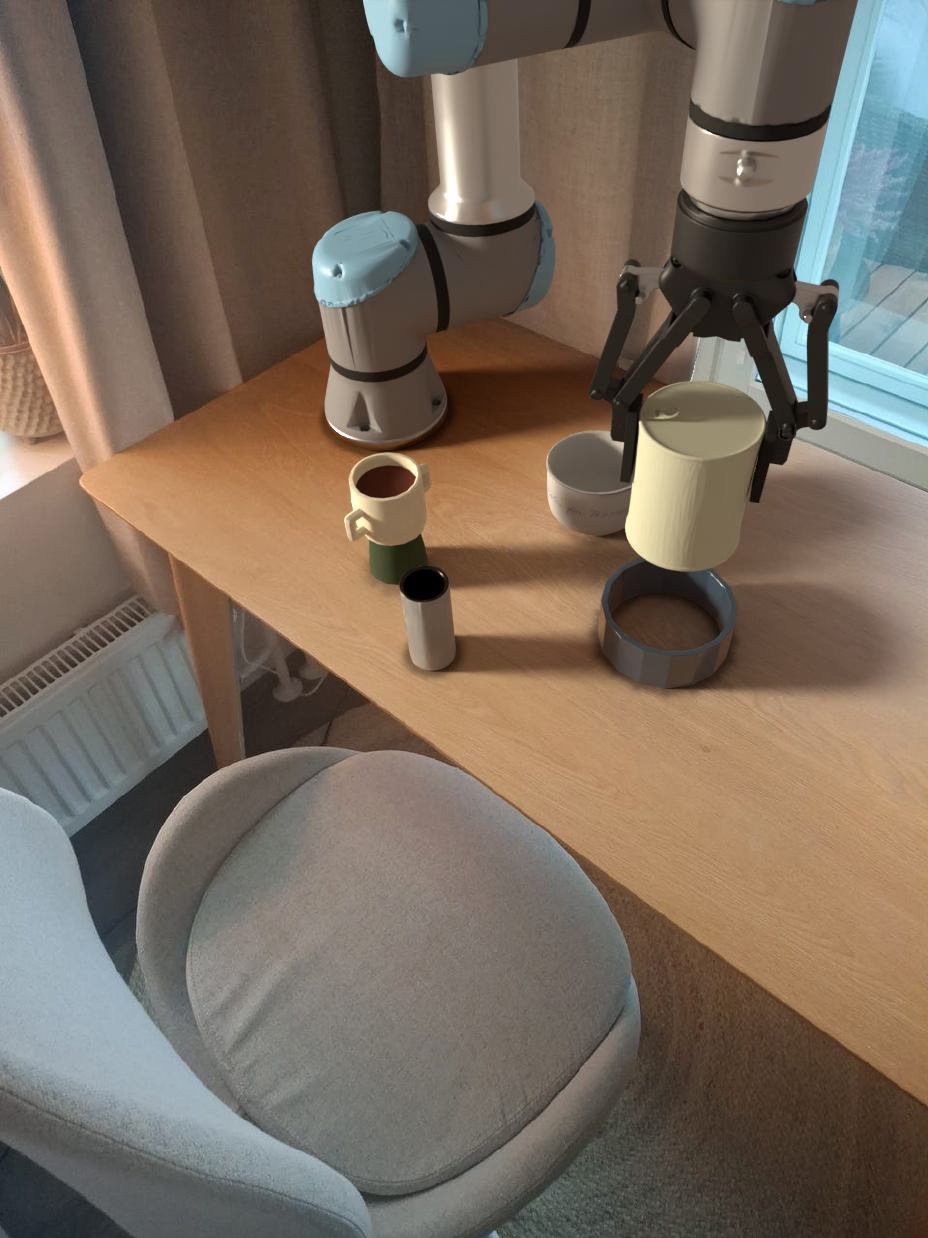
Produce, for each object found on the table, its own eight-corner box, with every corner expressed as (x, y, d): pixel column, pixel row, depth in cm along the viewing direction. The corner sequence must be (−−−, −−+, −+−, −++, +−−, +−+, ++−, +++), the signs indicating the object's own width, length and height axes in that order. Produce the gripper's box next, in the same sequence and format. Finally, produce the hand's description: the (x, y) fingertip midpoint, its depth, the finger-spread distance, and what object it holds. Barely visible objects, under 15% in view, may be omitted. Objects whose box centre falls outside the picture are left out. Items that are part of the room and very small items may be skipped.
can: (627, 489, 78) (641, 371, 69) (737, 497, 77) (766, 377, 68) (622, 567, 72) (635, 449, 63) (740, 577, 71) (772, 458, 62)
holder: (575, 618, 91) (577, 585, 87) (676, 572, 94) (682, 538, 90) (647, 708, 84) (652, 676, 80) (754, 654, 87) (765, 621, 83)
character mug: (414, 525, 101) (401, 432, 91) (459, 556, 97) (451, 463, 87) (339, 579, 96) (317, 487, 86) (383, 614, 93) (366, 522, 83)
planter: (400, 655, 89) (388, 585, 81) (432, 627, 91) (423, 557, 83) (433, 679, 87) (424, 610, 79) (465, 650, 89) (459, 580, 81)
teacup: (529, 531, 99) (529, 476, 93) (568, 471, 105) (571, 415, 99) (650, 571, 95) (659, 515, 88) (684, 505, 100) (695, 449, 94)
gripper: (546, 205, 53) (542, 490, 71) (945, 240, 48) (835, 538, 66) (574, 149, 58) (563, 430, 75) (942, 176, 53) (840, 471, 70)
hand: (690, 480), depth 70 cm, fingers closed on can, 9 cm apart
